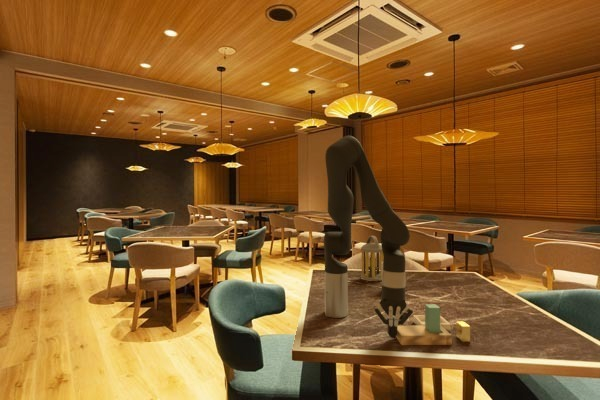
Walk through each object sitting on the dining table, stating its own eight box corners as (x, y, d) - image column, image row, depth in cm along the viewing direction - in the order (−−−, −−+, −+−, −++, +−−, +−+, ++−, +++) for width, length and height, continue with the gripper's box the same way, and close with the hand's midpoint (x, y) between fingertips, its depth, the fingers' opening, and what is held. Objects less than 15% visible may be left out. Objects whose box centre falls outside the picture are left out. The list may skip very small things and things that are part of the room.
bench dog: (462, 341, 104) (462, 326, 104) (456, 336, 108) (456, 321, 108) (470, 341, 104) (469, 326, 104) (463, 336, 108) (463, 321, 108)
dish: (422, 331, 112) (422, 324, 112) (413, 321, 121) (413, 315, 121) (450, 331, 112) (450, 324, 112) (439, 321, 121) (439, 314, 121)
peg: (429, 341, 104) (429, 307, 104) (425, 337, 108) (425, 304, 108) (440, 341, 104) (440, 307, 104) (435, 336, 108) (435, 304, 108)
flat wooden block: (401, 345, 102) (401, 335, 102) (394, 334, 110) (394, 325, 110) (451, 344, 102) (451, 335, 102) (440, 334, 110) (440, 325, 110)
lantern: (356, 277, 190) (355, 234, 190) (377, 275, 195) (376, 233, 194) (368, 283, 177) (367, 237, 177) (390, 280, 181) (390, 236, 181)
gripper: (375, 286, 102) (374, 340, 102) (417, 287, 102) (416, 342, 102) (371, 280, 110) (369, 331, 110) (410, 281, 110) (408, 332, 109)
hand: (392, 336), depth 106 cm, fingers closed
